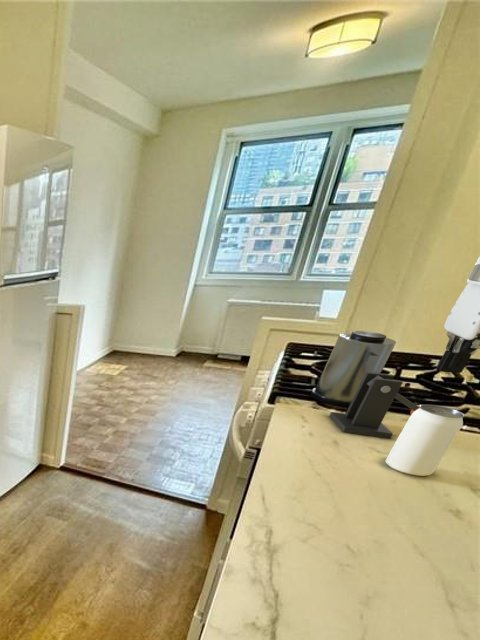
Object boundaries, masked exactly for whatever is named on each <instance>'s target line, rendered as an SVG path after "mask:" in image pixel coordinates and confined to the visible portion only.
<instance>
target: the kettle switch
mask: <svg viewBox="0 0 480 640" xmlns="http://www.w3.org/2000/svg"><path fill="white" fill-rule="evenodd" d="M375 378H380V379H383V378H382V377H380V376H379V375H378V376H376V377H375ZM372 381H373V379H372V380H371V381H369V382H368V383H367V385H369V386H370V385H371V383H372ZM394 400H397V401H398V402H400V403H401V404H403V405H404V406H406V407H407V408H409V409H410V416H411V415H412V413H413V412H414V411H416V410H417V409H419V408H420V406H421V405H422V404H419V405H417V404H415V403H413V402H412V401H411V400H409V399H407V397H404V396H403V395H401V393H398V392H397V394H396V396H395V398H394Z"/></svg>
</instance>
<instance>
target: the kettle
mask: <svg viewBox="0 0 480 640" xmlns="http://www.w3.org/2000/svg"><path fill="white" fill-rule="evenodd" d="M396 344H397V341H396V340H394V339H391V338H389V337H387V335H386V334H383V333H379V332H375V331H367V330H354V331H352V332H342V333H340V334H339V335H338V337H337V340H336V342H335V344H334V346H333V349H332V351H331V352H330V355H329V357H328V360H327V362H326V364H325V366H324V369H323V371H322V373H321V375H320V378H319V379H318V382H317V384H316V386H315V387H314V388H312V389H311V392H310V394H309V395H310V397H311V398H312V399H314V400H316V401H319V402H321V403H323V404H327V405H331V406H335V407H340V408H347V409H348V408H349V406H350V404H351V402H352V400H353V398H354V396H355V394H356V392H357V390H358V388H359V386H360V384H361V382H362V380H363V377H364V375H365V373H366V372H371V373H381V374H382V373H383V369H384V368H385V366H386V363H387V362H388V359H389V357H390V356H391V353H392V352H393V350H394V348H395V346H396Z"/></svg>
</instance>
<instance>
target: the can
mask: <svg viewBox="0 0 480 640" xmlns="http://www.w3.org/2000/svg"><path fill="white" fill-rule="evenodd" d="M420 405H421V406H420V408H419V409H417V410H416V411H414V412H413V413H412V415H411V414H410V416H409V418H408V420H407V421H406V423H405V425H404V427H403V428H402V430H401V432H400V434H399V435H398V437H397V439H396V440H395V443H393V446H392V448H391V450H390V452H388V455H387V457H386V459H385V463H386V465H387V466H388V467H389V468H391V469H392V470H394V471H396V472H399V473H402V474H405V475H409V476H415V477H428V476H431V475H433V473H434V471H435V470H436V468H437V467H438V466H439V464H440V462H442V459H443V458H444V457H445V454H446V453H447V452H448V450H449V448H450V447H451V445H452V443H453V442H454V441H455V439H456V437H457V435H458V434H459V432H460V430H461V429H462V428H463V426H464V421H463V418H464V417H466V416H465V413H463V412H461V411H459V410H457V409H454V408H451V407H448V406H443V405H437V404H420Z"/></svg>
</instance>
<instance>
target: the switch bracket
mask: <svg viewBox="0 0 480 640" xmlns="http://www.w3.org/2000/svg"><path fill="white" fill-rule="evenodd" d="M378 375H379V376H380V377H382V378H383V379H380V378H375V377H376V376H378ZM394 378H395V375H394V374H390V373H382V372H381V373H371V372H366V373H365V375H364V377H363V380H362V382H361V384H360V386H359V388H358V390H357V392H356V394H355V396H354V398H353V400H352V402H351V404H350V406H349V408H347V410H346V412H345V413H341V412H336V411H335V412H334V411H331V412H330V414H329V417H328V418H330V419H331V420H332V422H334V424H335V425H336V426H337V427H338V428H339V429H340V431H341V432H342V433H346V434H353V435H360V436H368V437H377V438H381V439H382V438H383V439H392V437H393V435H394V433H393V432H392V431H391V430H390V429H389V428H388V427H386V426H385V425H384V424H383V423H382V422H383V421H384V418H385V416H386V415H387V413H388V411H389V409H390V407H391V406H392V403H393V402H394V400H395V396H396V394H397V393H398V392H399V391H400V388H401V386H402V385H403V382H404V381H402V380H398V379H394ZM372 379H373V381H372V383H371V385H370V386H369V385H367V383H368V382H369V381H371V380H372Z"/></svg>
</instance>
